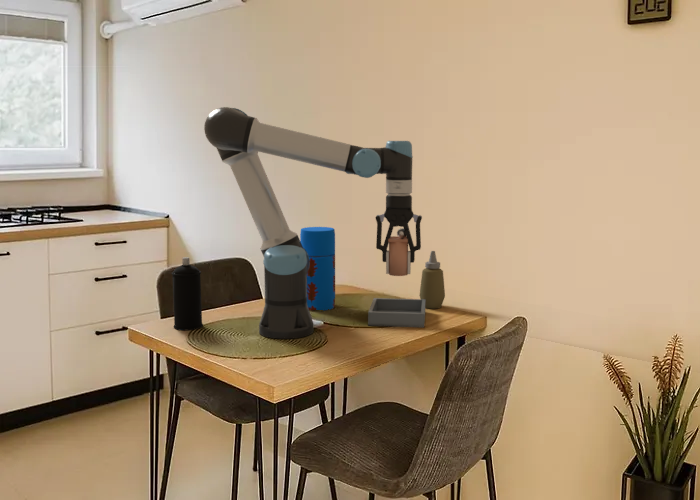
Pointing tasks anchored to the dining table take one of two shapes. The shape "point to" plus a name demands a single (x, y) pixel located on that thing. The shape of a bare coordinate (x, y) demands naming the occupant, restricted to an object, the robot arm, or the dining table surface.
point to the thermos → (320, 266)
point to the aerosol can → (187, 296)
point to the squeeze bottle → (432, 283)
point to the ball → (401, 233)
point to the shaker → (398, 256)
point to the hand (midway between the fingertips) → (398, 272)
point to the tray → (397, 312)
